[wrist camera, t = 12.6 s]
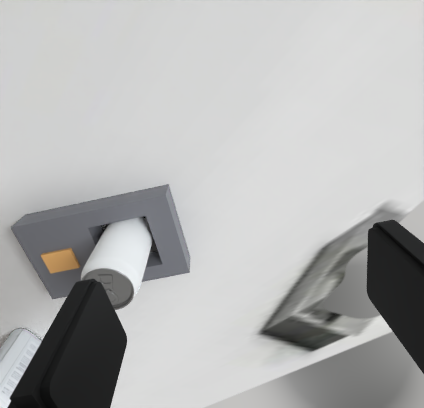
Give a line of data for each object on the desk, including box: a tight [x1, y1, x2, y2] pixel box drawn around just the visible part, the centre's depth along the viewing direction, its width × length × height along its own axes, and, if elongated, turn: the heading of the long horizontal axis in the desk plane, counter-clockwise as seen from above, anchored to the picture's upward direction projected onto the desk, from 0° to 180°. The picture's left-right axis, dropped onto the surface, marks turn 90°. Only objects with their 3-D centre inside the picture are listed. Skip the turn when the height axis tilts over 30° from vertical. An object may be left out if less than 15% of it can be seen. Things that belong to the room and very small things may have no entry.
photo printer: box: [0, 328, 42, 408], centre depth 45 cm, size 10×4×12 cm, turn 31°
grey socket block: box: [11, 184, 190, 299], centre depth 40 cm, size 12×20×4 cm, turn 102°
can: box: [81, 217, 153, 310], centre depth 36 cm, size 6×6×12 cm
